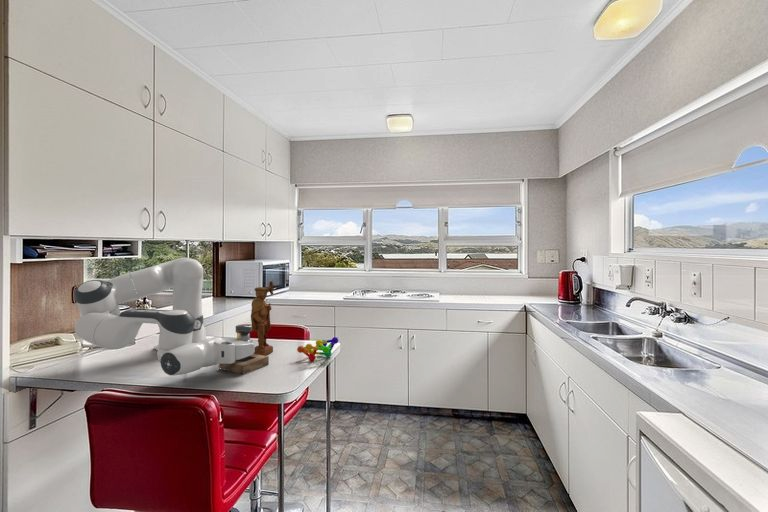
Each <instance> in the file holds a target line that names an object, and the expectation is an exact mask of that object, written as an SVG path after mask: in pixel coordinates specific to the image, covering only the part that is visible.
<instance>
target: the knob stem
mask: <svg viewBox="0 0 768 512" xmlns="http://www.w3.org/2000/svg"><path fill="white" fill-rule="evenodd" d="M251 332H253V330H252V324H250V323H249V324H248V323H247V324H245V323H244V324H238V325H236V326H235V333H236V334H237V336H236V339H237V340H239V341H245V342H246V341H247V340H251V339H250V338H251V334H250V333H251ZM248 360H250V356H248V357H245V358H242V359H239V361H241V362H245V361H248Z"/></svg>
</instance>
